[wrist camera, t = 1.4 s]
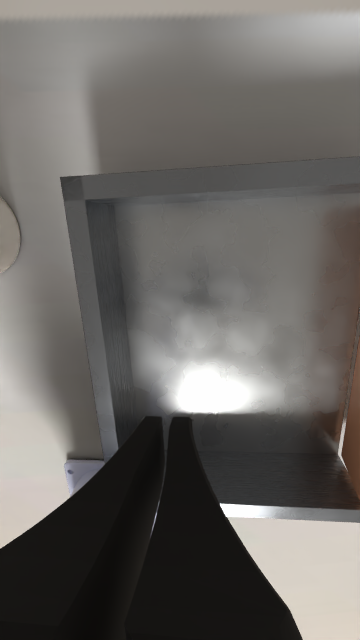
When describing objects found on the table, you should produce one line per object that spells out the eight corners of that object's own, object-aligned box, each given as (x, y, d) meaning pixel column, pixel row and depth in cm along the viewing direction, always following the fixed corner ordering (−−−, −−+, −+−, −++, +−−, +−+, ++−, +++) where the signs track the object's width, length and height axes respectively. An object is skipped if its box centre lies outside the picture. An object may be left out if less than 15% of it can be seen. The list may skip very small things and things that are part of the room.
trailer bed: (330, 454, 23) (368, 523, 17) (132, 449, 24) (111, 510, 19) (369, 175, 17) (444, 150, 11) (102, 192, 18) (60, 177, 13)
